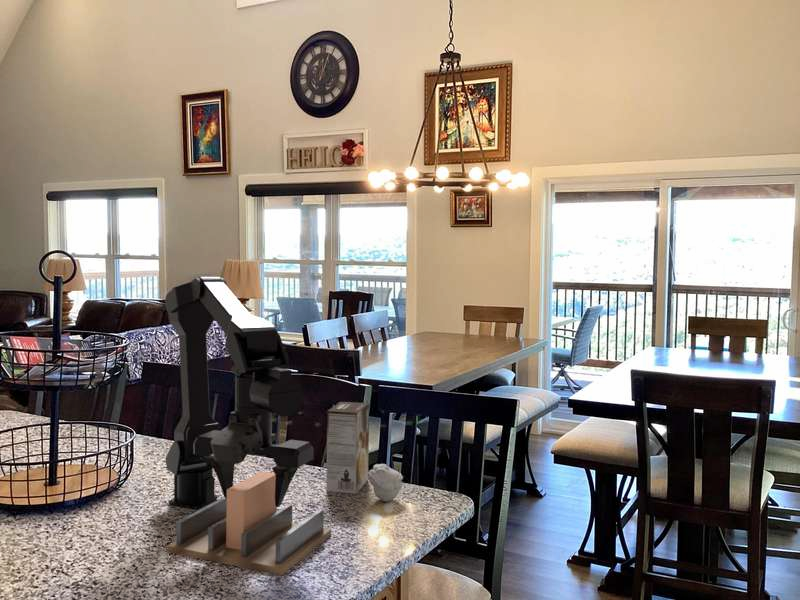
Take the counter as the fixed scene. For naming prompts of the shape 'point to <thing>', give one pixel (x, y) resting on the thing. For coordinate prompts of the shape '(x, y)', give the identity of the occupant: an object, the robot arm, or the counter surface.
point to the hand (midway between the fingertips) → (252, 501)
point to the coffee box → (347, 447)
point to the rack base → (257, 560)
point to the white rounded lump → (385, 482)
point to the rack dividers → (251, 530)
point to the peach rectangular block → (249, 505)
